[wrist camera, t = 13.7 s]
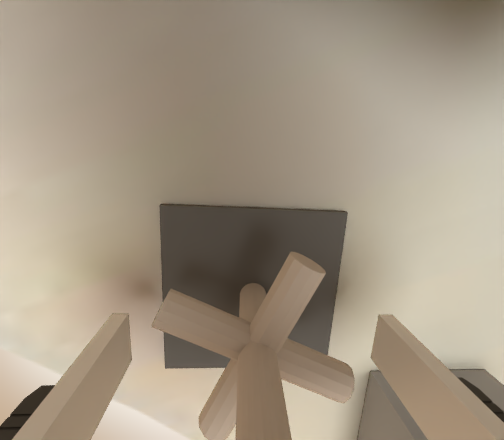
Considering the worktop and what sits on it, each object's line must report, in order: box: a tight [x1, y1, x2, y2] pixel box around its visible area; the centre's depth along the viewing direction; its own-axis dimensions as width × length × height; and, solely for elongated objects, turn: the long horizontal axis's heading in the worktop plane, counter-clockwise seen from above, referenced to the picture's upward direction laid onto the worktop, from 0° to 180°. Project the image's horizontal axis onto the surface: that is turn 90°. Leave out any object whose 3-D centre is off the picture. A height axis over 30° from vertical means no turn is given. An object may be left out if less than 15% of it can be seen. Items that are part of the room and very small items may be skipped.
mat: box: [160, 204, 348, 368], centre depth 17 cm, size 12×12×1 cm
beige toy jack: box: [152, 252, 354, 440], centre depth 12 cm, size 10×10×10 cm
